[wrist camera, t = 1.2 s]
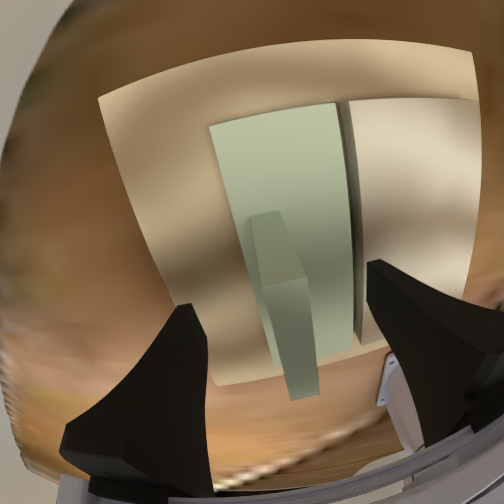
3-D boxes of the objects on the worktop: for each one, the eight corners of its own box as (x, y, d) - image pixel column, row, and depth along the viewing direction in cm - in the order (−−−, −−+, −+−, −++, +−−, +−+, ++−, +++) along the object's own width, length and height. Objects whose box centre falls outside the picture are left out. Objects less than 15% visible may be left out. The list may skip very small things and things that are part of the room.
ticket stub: (347, 335, 18) (378, 413, 12) (272, 353, 18) (286, 438, 12) (325, 102, 11) (403, 106, 5) (211, 124, 11) (190, 141, 6)
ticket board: (446, 308, 20) (464, 330, 17) (217, 371, 21) (217, 402, 18) (455, 53, 10) (488, 52, 8) (110, 98, 11) (82, 98, 9)
